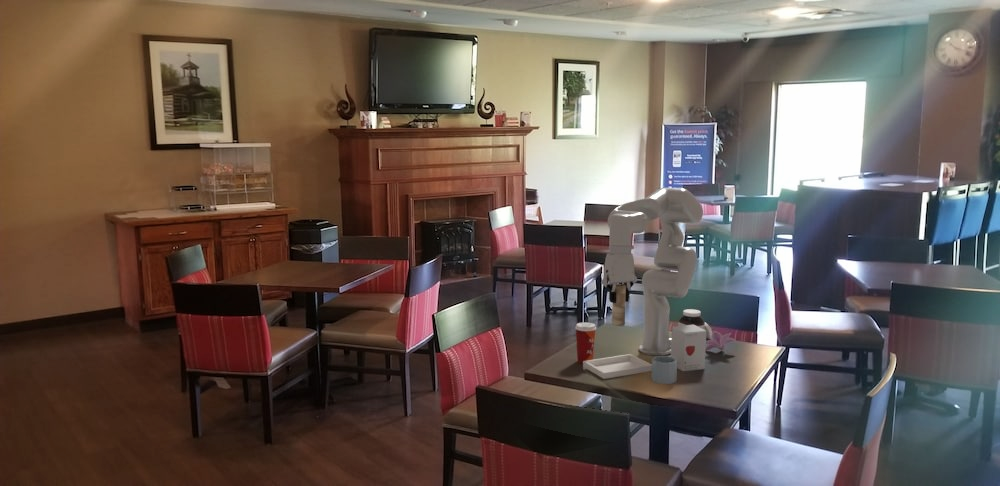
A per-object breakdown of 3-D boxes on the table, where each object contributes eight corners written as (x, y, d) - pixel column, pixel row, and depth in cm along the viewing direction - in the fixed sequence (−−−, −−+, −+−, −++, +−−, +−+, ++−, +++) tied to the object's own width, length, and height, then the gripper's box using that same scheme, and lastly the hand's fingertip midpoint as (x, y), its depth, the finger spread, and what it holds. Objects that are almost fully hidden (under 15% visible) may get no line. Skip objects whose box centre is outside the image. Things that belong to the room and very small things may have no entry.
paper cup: (594, 365, 263) (595, 328, 261) (573, 364, 265) (574, 327, 262) (596, 358, 271) (597, 322, 268) (575, 357, 272) (576, 321, 270)
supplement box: (682, 374, 254) (683, 332, 251) (669, 366, 262) (671, 325, 260) (705, 371, 256) (707, 330, 254) (692, 363, 265) (693, 323, 262)
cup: (666, 377, 251) (667, 354, 249) (681, 384, 243) (681, 361, 242) (646, 380, 248) (647, 357, 246) (661, 388, 240) (661, 364, 239)
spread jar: (674, 338, 296) (675, 310, 294) (690, 333, 303) (691, 305, 301) (700, 345, 287) (701, 316, 285) (716, 339, 295) (717, 311, 293)
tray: (630, 361, 267) (630, 353, 267) (653, 373, 254) (653, 365, 254) (582, 369, 259) (583, 361, 259) (603, 381, 247) (603, 373, 246)
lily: (740, 356, 276) (734, 331, 279) (737, 352, 266) (730, 327, 269) (709, 362, 280) (703, 338, 283) (704, 359, 270) (698, 334, 273)
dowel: (620, 322, 257) (621, 283, 255) (627, 325, 253) (628, 285, 251) (609, 323, 255) (610, 284, 253) (616, 326, 251) (617, 287, 249)
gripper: (634, 246, 257) (633, 297, 259) (593, 249, 250) (592, 301, 253) (647, 249, 250) (645, 301, 253) (604, 253, 243) (603, 306, 246)
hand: (619, 301), depth 253 cm, fingers closed on dowel, 4 cm apart
